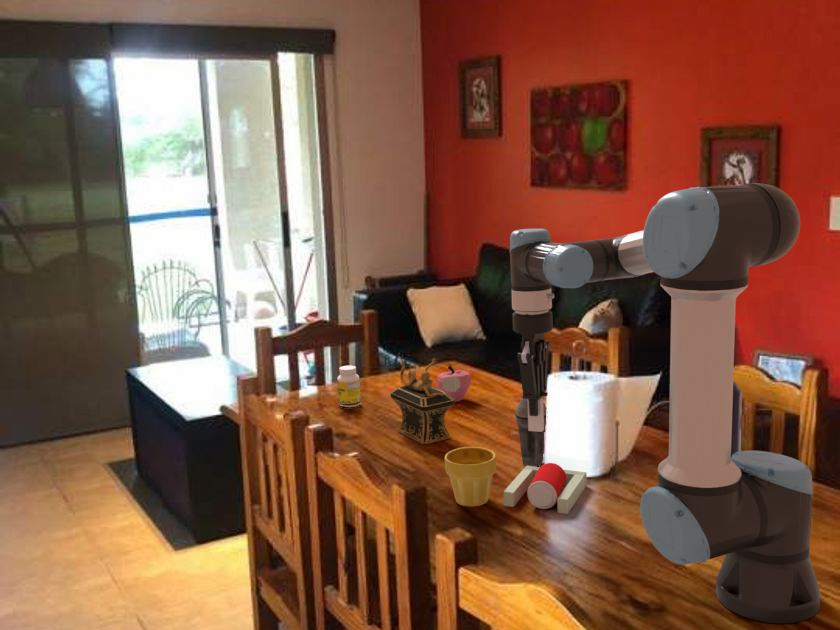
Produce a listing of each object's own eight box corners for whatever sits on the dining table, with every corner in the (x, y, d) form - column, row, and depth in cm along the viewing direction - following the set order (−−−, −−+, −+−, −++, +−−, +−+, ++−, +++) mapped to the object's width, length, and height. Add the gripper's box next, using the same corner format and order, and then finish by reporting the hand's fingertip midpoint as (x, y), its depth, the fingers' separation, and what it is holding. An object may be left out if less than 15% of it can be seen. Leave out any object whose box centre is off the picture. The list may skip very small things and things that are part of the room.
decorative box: (458, 439, 220) (455, 361, 216) (425, 448, 215) (421, 368, 211) (416, 419, 237) (413, 347, 233) (384, 427, 232) (380, 353, 228)
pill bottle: (335, 404, 254) (333, 366, 251) (356, 401, 256) (353, 363, 254) (343, 410, 248) (340, 371, 246) (364, 406, 251) (361, 368, 248)
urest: (567, 514, 174) (567, 499, 174) (504, 505, 180) (503, 491, 179) (586, 485, 188) (586, 472, 187) (526, 478, 193) (526, 465, 192)
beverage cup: (511, 466, 200) (509, 380, 196) (523, 456, 206) (521, 372, 203) (542, 471, 197) (540, 383, 193) (553, 460, 203) (551, 374, 199)
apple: (434, 404, 249) (432, 369, 247) (442, 395, 257) (441, 362, 255) (468, 406, 246) (466, 371, 244) (475, 397, 254) (474, 362, 252)
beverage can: (520, 500, 177) (533, 477, 188) (547, 517, 176) (558, 493, 187) (535, 476, 175) (547, 454, 186) (563, 493, 174) (573, 470, 185)
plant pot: (455, 514, 177) (453, 467, 175) (440, 495, 187) (438, 450, 185) (504, 506, 179) (503, 460, 178) (487, 487, 189) (485, 443, 187)
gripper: (541, 317, 163) (545, 442, 167) (560, 305, 174) (564, 421, 179) (502, 316, 166) (507, 439, 170) (523, 304, 177) (527, 419, 182)
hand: (536, 430), depth 174 cm, fingers closed
